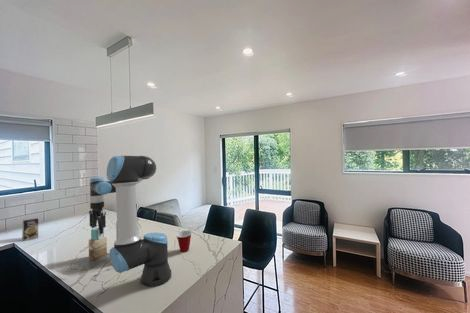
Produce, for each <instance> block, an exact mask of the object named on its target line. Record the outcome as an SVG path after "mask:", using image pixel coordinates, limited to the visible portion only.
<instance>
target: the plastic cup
mask: <svg viewBox="0 0 470 313" xmlns="http://www.w3.org/2000/svg"><path fill="white" fill-rule="evenodd" d="M192 234H193V231H191V230H183V231H179V232H177V233H176V234H175V237H176V238H177V242H178V248H179V251H180V253H186V252H189V250H190V246H191V245H190V244H191V238H192Z"/></svg>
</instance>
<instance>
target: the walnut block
mask: <svg viewBox="0 0 470 313" xmlns="http://www.w3.org/2000/svg"><path fill="white" fill-rule="evenodd" d="M107 248H108V246H107V247H105V248H102V249H100V250H97V251H93V250H89V249H88V257H89V259H91V260H94V261H97V260H99V259H101V258H104V257H106V256H107V253H108V251H107V250H108V249H107Z"/></svg>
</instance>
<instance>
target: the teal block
mask: <svg viewBox="0 0 470 313" xmlns="http://www.w3.org/2000/svg"><path fill="white" fill-rule="evenodd" d="M98 228H99V227H97V228H96V229H92V228H91V229H90V236H91V237H90V239H92V240H98ZM104 237H105V228H103V238H104Z"/></svg>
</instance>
